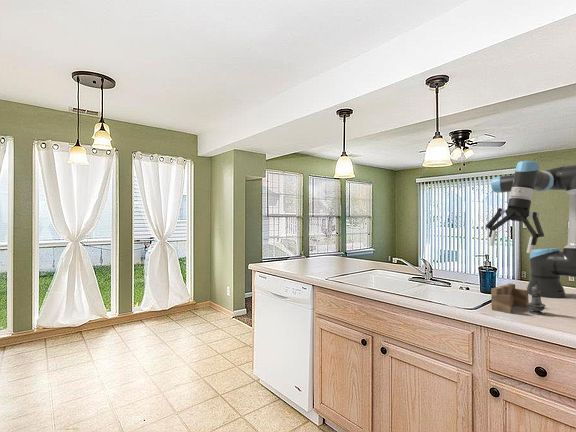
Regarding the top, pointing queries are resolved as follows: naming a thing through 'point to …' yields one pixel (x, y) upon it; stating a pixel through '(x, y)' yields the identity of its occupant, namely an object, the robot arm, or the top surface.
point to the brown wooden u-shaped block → (508, 298)
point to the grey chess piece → (536, 302)
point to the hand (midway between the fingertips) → (509, 249)
